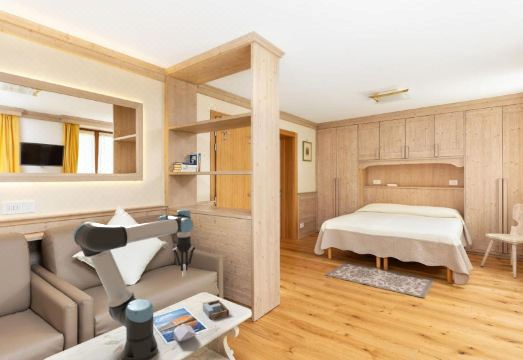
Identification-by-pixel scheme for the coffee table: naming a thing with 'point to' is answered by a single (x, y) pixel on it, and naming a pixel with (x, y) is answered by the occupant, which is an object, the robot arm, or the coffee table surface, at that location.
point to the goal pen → (222, 313)
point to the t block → (211, 309)
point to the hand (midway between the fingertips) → (184, 276)
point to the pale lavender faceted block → (183, 333)
